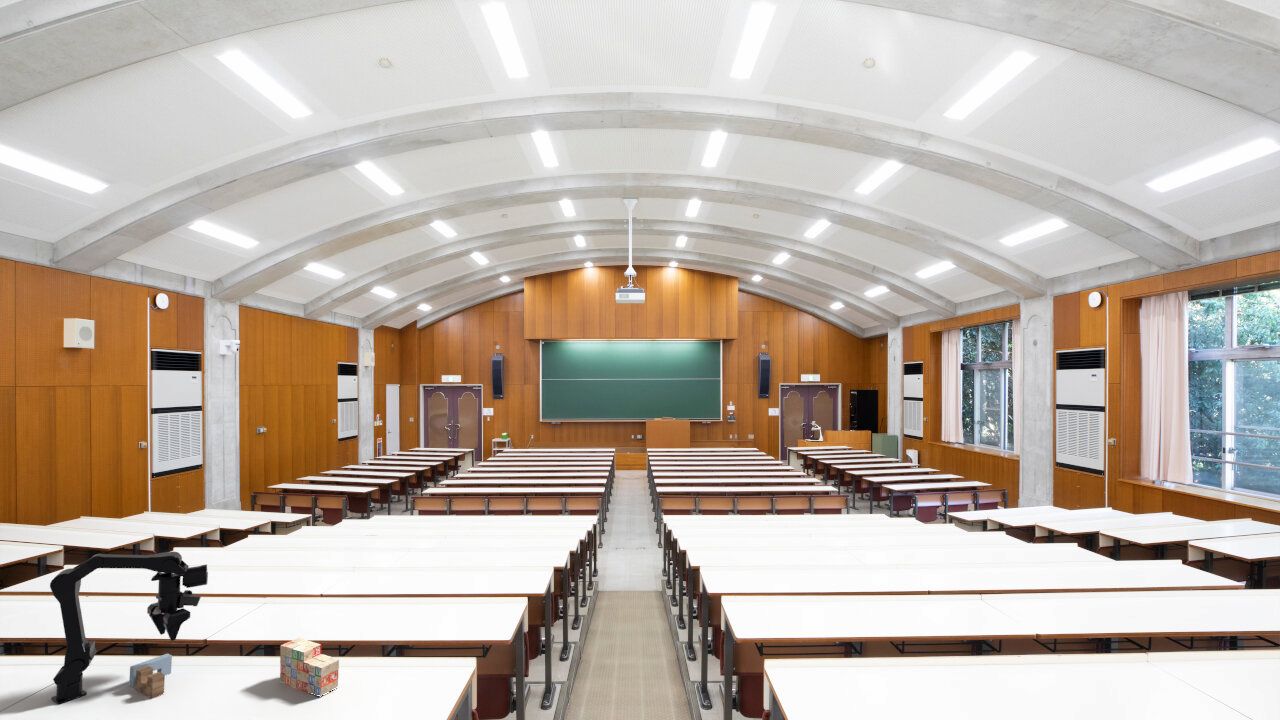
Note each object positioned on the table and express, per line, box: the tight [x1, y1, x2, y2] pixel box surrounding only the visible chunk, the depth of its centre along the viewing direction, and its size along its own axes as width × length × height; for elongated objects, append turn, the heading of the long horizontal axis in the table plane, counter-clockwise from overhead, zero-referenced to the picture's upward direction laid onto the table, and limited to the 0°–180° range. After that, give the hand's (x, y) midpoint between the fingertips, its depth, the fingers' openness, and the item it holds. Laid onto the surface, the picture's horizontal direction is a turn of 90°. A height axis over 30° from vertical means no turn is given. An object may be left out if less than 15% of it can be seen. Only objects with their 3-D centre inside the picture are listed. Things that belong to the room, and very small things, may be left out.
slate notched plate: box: [128, 653, 173, 689], centre depth 183 cm, size 10×3×6 cm, turn 152°
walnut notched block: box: [134, 666, 166, 699], centre depth 176 cm, size 12×3×6 cm, turn 62°
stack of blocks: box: [279, 637, 340, 696], centre depth 179 cm, size 21×6×12 cm, turn 64°
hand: (167, 637), depth 186 cm, fingers open, 9 cm apart
